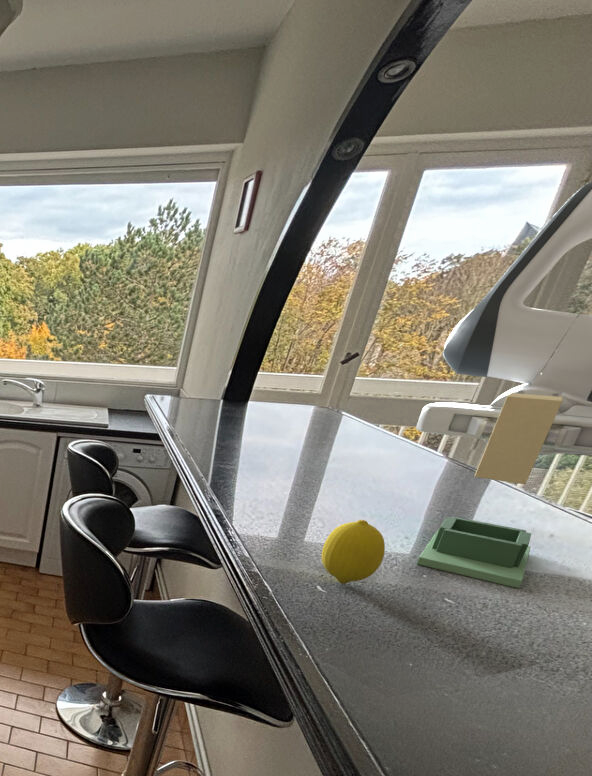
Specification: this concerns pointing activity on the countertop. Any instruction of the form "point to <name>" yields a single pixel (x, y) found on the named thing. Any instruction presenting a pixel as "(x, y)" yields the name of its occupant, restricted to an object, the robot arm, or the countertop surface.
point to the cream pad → (518, 437)
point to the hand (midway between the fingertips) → (519, 434)
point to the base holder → (479, 551)
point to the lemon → (353, 551)
